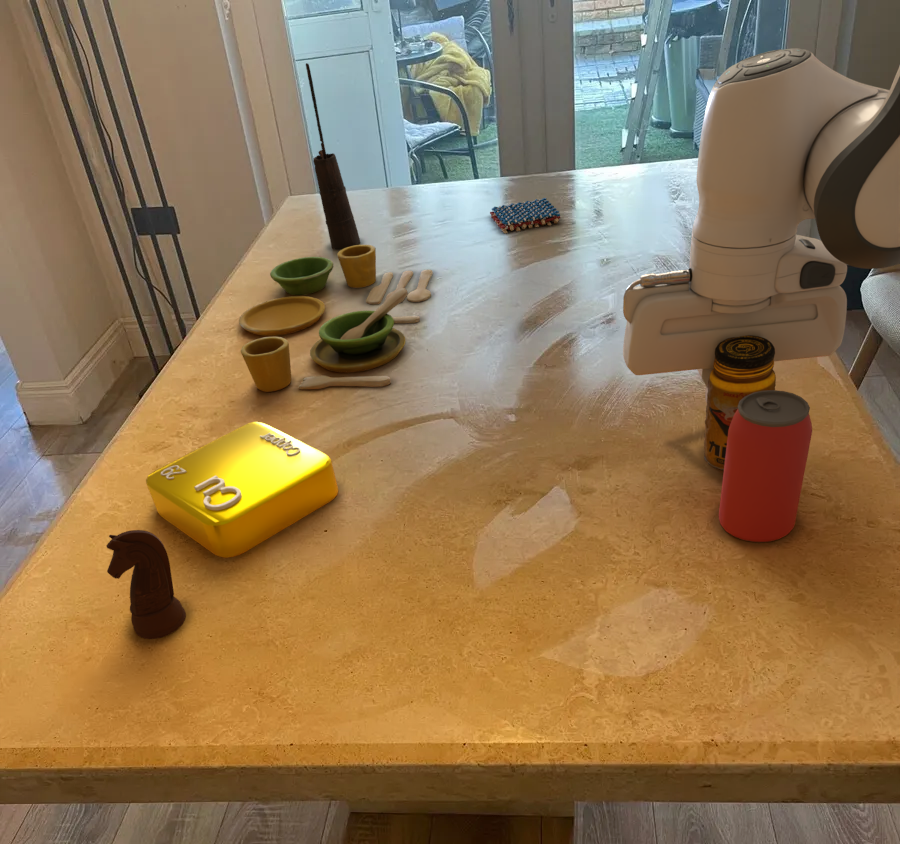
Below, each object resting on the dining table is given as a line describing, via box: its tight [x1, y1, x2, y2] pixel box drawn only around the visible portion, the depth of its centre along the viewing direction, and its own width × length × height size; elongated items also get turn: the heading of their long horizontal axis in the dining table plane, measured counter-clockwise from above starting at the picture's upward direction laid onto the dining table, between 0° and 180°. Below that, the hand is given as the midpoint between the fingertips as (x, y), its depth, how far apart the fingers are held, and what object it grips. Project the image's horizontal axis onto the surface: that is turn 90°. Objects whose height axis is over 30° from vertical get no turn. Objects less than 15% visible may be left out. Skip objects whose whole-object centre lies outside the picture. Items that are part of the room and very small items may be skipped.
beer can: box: [718, 389, 813, 543], centre depth 73 cm, size 7×7×12 cm
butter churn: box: [305, 62, 361, 251], centre depth 141 cm, size 9×10×28 cm
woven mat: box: [489, 197, 561, 234], centre depth 147 cm, size 10×11×2 cm
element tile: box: [145, 421, 339, 559], centre depth 88 cm, size 15×15×5 cm
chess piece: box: [106, 529, 187, 640], centre depth 73 cm, size 5×5×10 cm
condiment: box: [703, 335, 777, 471], centre depth 82 cm, size 7×8×12 cm
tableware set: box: [238, 244, 434, 393], centre depth 120 cm, size 41×28×6 cm
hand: (723, 402), depth 86 cm, fingers closed
